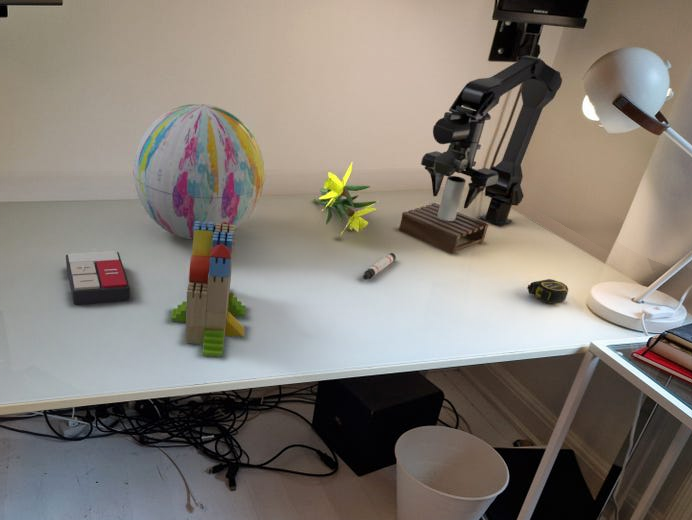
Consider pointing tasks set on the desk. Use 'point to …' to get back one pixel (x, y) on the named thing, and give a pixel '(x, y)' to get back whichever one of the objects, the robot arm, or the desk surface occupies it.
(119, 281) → the calculator
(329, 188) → the daffodil flowers
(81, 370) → the desk surface
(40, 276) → the desk surface
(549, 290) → the tape measure
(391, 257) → the marker
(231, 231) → the block set
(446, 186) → the grey hollow cylinder
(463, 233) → the rack
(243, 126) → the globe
